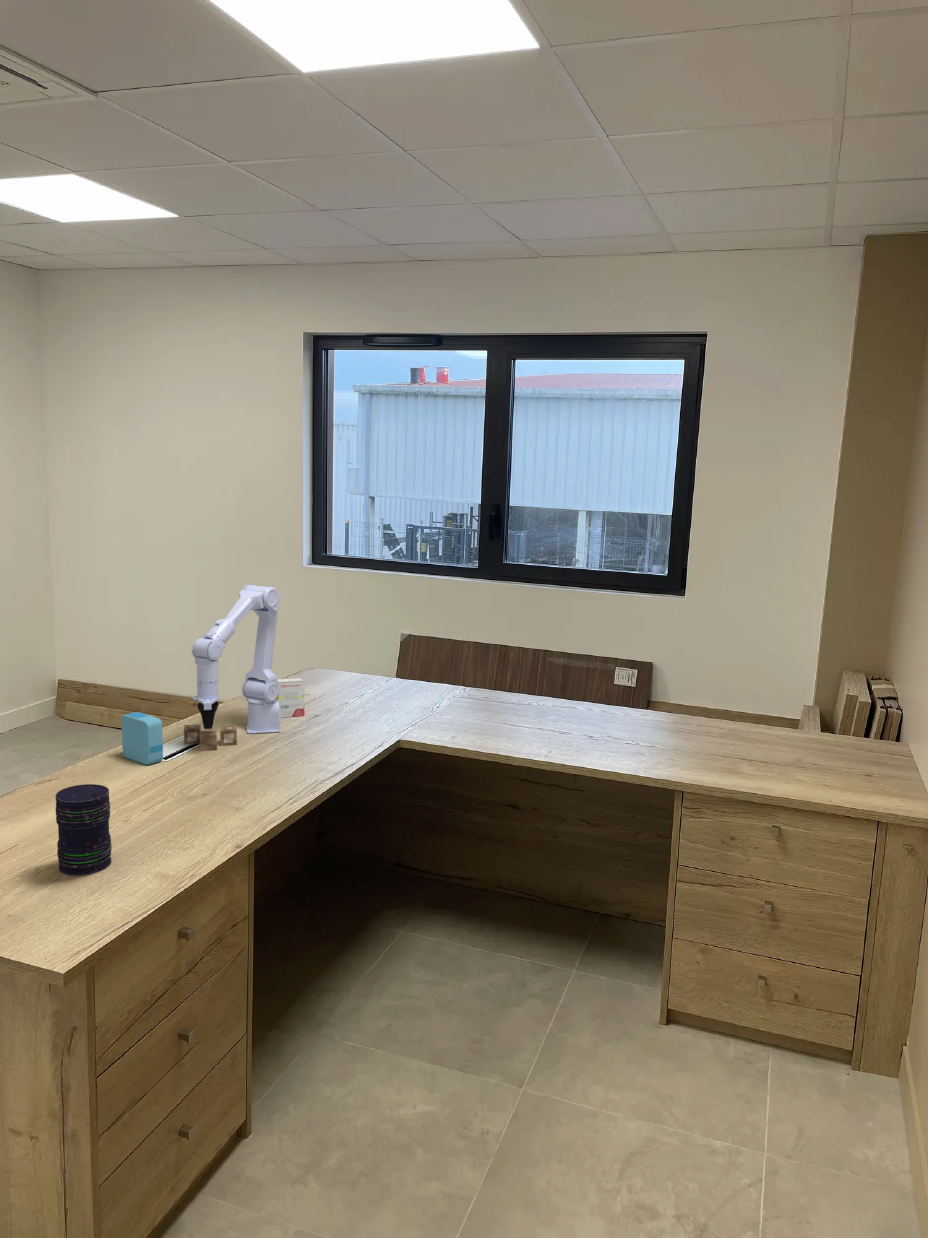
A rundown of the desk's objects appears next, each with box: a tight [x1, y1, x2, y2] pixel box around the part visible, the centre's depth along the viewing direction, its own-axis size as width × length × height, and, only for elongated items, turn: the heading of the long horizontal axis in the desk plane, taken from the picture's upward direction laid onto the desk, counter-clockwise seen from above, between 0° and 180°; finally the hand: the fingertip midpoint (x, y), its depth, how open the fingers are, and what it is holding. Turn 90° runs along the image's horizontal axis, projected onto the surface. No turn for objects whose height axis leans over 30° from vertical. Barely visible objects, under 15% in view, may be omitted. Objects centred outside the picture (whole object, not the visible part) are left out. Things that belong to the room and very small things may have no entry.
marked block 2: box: [219, 725, 238, 747], centre depth 255 cm, size 4×5×5 cm
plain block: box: [199, 730, 218, 752], centre depth 250 cm, size 4×4×4 cm
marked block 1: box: [183, 724, 202, 745], centre depth 255 cm, size 4×5×5 cm
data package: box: [121, 711, 164, 766], centre depth 238 cm, size 12×4×12 cm, turn 54°
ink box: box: [274, 677, 305, 719], centre depth 285 cm, size 9×5×12 cm, turn 114°
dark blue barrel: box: [55, 783, 113, 877], centre depth 174 cm, size 10×10×15 cm
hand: (208, 728), depth 249 cm, fingers closed
